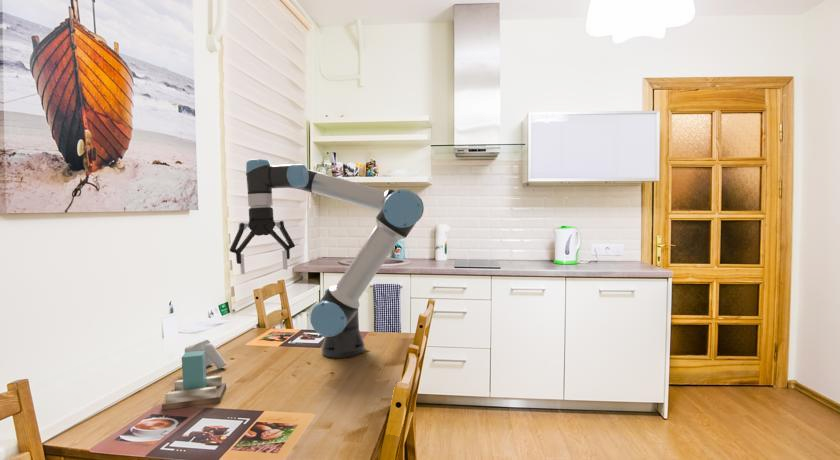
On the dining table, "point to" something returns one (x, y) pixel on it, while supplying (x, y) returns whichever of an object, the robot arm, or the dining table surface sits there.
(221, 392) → the display stand
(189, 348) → the wall hook
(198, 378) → the teal upright prism
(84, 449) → the dining table surface
